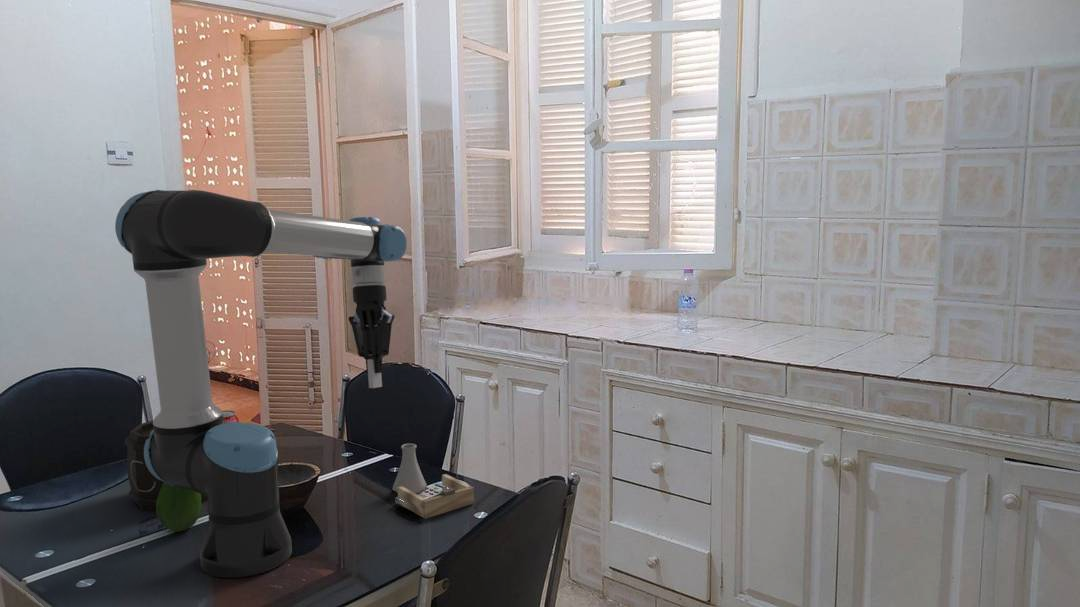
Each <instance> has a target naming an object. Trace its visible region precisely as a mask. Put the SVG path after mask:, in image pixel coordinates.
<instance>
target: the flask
mask: <svg viewBox="0 0 1080 607" xmlns="http://www.w3.org/2000/svg"><path fill="white" fill-rule="evenodd" d="M417 448H418V447H417V444H415V443H404V444H402V445H401V446H400V449H401V450H402V452H401V453H402V457H401V463H400V466H399V469H398V472H397V475H396V477H395V481H394V483H393V485H392V491H394V492H395V493H397V494H398V487H401V486H403V487H404V488H406V489H408V490H410V491H412V492H414V493H416V494H419V493H423V492H424V491H425V490H426V489H427V488H428V485H427V482H426V480H425V479H424V476H423V473H422V471H421V468H420V465H419V463H418V460H417V455H416V449H417Z"/></svg>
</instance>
